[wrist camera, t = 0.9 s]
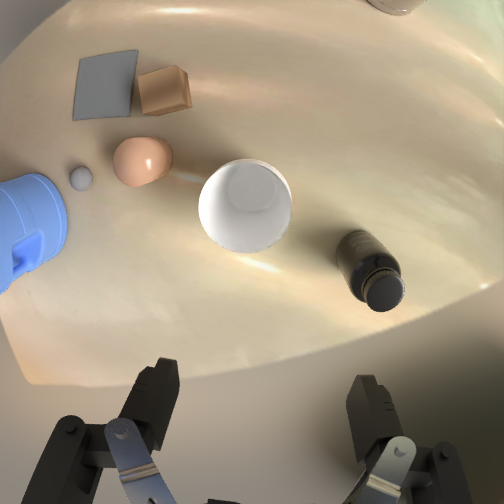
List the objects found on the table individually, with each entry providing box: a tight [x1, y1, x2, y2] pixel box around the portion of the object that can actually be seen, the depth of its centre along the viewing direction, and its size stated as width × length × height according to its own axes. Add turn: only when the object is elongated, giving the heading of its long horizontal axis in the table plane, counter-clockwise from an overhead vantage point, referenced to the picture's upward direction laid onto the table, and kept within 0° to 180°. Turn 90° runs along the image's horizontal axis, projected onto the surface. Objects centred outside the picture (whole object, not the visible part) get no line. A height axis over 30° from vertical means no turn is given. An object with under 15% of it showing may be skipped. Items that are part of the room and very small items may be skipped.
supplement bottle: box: [336, 231, 405, 312], centre depth 35 cm, size 7×7×12 cm
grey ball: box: [70, 167, 93, 191], centre depth 37 cm, size 4×4×4 cm
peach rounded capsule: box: [113, 137, 173, 187], centre depth 34 cm, size 6×6×6 cm
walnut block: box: [138, 65, 192, 116], centre depth 32 cm, size 5×5×5 cm
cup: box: [199, 159, 292, 253], centre depth 32 cm, size 9×9×12 cm
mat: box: [73, 50, 138, 120], centre depth 33 cm, size 10×10×1 cm
